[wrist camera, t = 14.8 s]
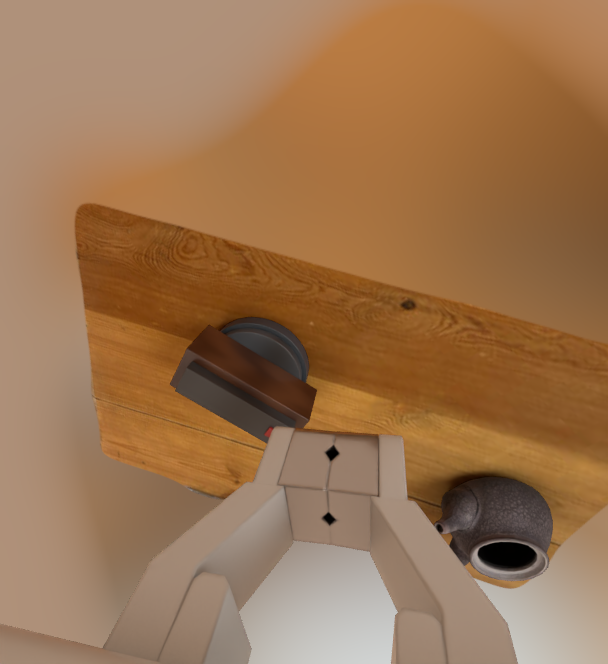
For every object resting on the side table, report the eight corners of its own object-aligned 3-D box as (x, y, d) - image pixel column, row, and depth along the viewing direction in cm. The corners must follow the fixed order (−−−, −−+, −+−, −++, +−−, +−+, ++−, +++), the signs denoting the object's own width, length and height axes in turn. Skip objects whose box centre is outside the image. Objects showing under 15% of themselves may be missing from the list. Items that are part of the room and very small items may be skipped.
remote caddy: (188, 368, 42) (154, 409, 36) (222, 302, 37) (188, 336, 31) (284, 425, 44) (268, 473, 38) (331, 369, 38) (321, 415, 32)
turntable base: (304, 317, 38) (302, 323, 36) (312, 403, 43) (310, 411, 42) (204, 316, 40) (198, 322, 39) (224, 397, 46) (219, 404, 45)
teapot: (459, 444, 42) (478, 522, 33) (568, 497, 43) (614, 587, 34) (379, 518, 52) (379, 593, 43) (469, 560, 52) (486, 642, 44)
